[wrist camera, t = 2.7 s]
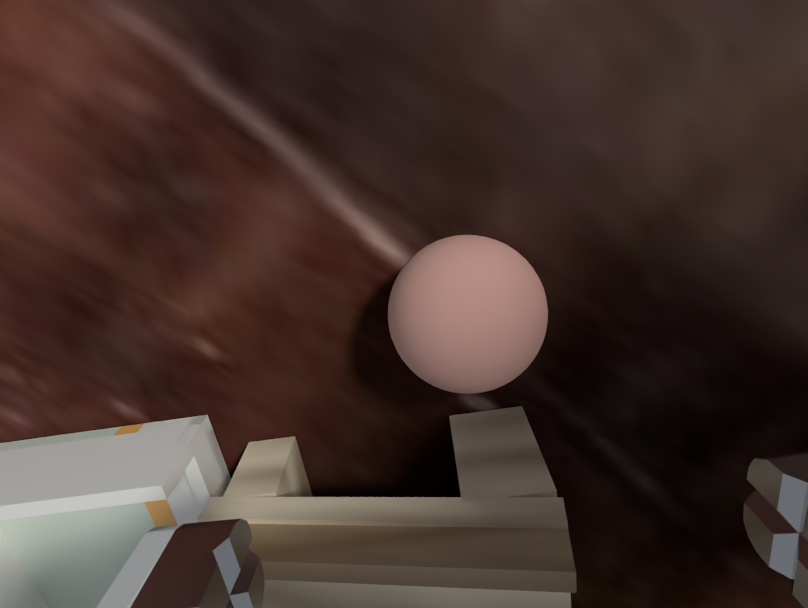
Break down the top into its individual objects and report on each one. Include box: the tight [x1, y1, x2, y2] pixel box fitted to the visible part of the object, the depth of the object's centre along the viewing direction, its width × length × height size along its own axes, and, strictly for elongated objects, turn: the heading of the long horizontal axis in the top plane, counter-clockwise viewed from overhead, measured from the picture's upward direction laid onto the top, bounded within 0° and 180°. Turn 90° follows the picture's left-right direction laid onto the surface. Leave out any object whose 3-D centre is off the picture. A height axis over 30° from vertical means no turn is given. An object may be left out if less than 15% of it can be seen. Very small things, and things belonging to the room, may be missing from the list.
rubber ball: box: [388, 235, 548, 394], centre depth 15 cm, size 5×5×5 cm
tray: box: [0, 415, 231, 608], centre depth 20 cm, size 12×11×4 cm
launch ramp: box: [197, 406, 577, 608], centre depth 18 cm, size 9×12×7 cm
